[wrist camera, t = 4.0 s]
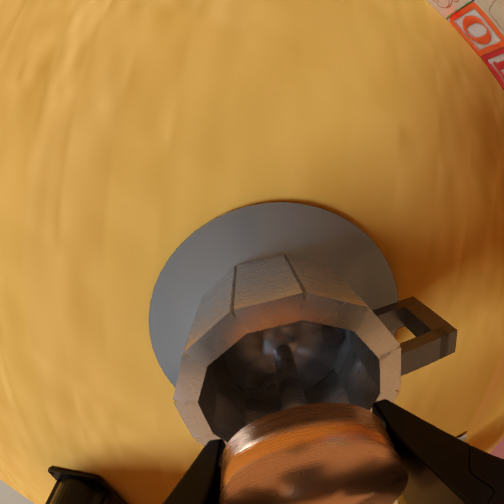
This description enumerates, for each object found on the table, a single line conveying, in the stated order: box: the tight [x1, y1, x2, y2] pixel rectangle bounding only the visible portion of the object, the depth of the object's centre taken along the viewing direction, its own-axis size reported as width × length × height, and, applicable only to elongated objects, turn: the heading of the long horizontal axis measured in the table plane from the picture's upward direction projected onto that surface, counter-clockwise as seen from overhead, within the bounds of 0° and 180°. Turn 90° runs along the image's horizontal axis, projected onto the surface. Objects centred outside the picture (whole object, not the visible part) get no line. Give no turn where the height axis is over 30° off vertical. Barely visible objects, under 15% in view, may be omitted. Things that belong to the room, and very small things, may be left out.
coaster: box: [149, 202, 399, 388], centre depth 13 cm, size 12×12×1 cm
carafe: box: [173, 253, 457, 446], centre depth 11 cm, size 10×8×5 cm
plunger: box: [219, 320, 408, 504], centre depth 9 cm, size 5×5×8 cm
